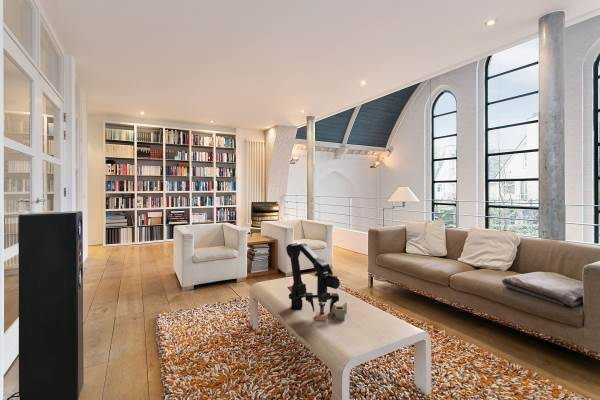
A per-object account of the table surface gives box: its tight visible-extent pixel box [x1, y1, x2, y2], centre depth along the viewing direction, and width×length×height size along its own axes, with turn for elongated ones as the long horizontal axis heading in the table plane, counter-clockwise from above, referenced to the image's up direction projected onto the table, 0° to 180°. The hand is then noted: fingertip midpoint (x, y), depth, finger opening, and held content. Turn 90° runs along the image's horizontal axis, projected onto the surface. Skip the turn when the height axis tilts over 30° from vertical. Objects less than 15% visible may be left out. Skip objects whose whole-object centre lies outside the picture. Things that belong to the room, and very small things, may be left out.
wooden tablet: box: [287, 285, 308, 299], centre depth 218 cm, size 27×10×2 cm, turn 21°
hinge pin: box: [318, 302, 326, 315], centre depth 173 cm, size 4×4×8 cm
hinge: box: [329, 302, 348, 322], centre depth 176 cm, size 10×11×6 cm
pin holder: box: [315, 311, 328, 321], centre depth 173 cm, size 6×6×2 cm
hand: (321, 311), depth 173 cm, fingers open, 9 cm apart
